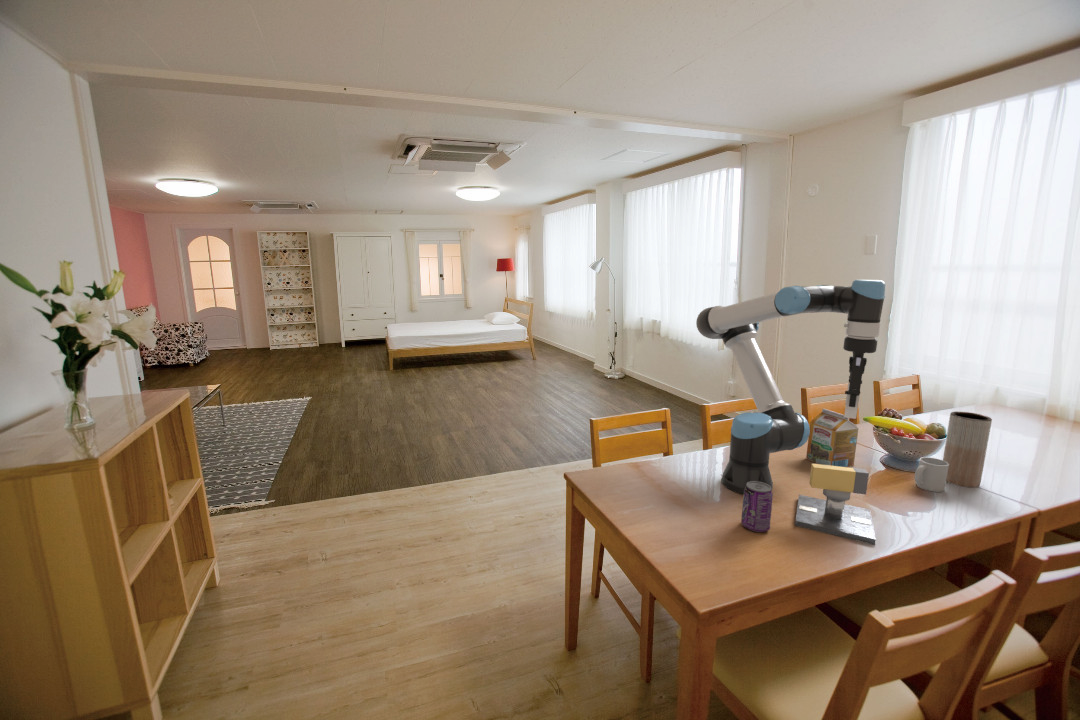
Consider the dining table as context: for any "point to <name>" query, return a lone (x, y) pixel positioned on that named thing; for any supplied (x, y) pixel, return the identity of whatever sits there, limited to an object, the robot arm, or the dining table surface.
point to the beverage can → (757, 506)
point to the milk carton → (832, 440)
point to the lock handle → (838, 481)
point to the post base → (835, 518)
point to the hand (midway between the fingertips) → (850, 411)
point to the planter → (966, 448)
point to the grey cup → (931, 474)
